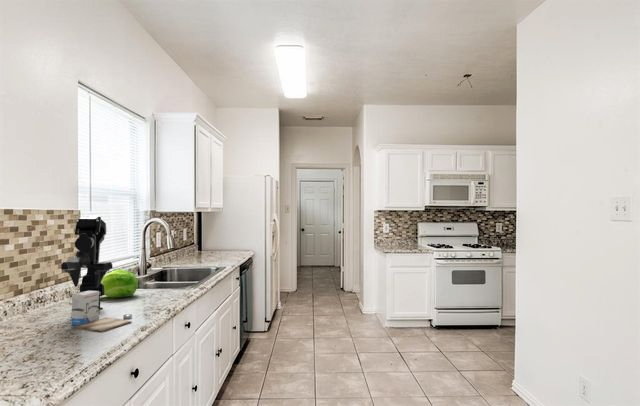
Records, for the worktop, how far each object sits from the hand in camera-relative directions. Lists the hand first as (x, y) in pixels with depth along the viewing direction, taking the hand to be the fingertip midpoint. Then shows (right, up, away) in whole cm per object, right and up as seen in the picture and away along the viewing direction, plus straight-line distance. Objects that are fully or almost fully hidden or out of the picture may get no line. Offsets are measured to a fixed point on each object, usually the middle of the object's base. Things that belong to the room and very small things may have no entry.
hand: (86, 286), depth 152 cm
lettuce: (-11, -14, +39) cm, 43 cm away
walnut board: (+12, -13, -8) cm, 19 cm away
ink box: (+2, -13, -4) cm, 14 cm away
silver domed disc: (+16, -14, +2) cm, 21 cm away
